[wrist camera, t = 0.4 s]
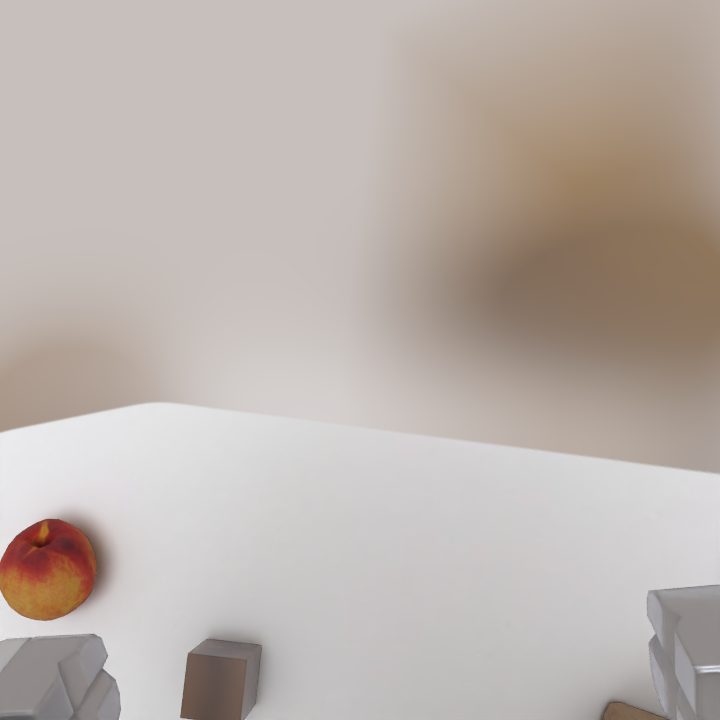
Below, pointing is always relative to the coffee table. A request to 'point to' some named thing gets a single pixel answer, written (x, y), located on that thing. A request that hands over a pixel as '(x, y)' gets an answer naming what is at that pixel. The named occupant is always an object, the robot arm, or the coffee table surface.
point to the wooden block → (628, 713)
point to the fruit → (47, 570)
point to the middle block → (220, 680)
